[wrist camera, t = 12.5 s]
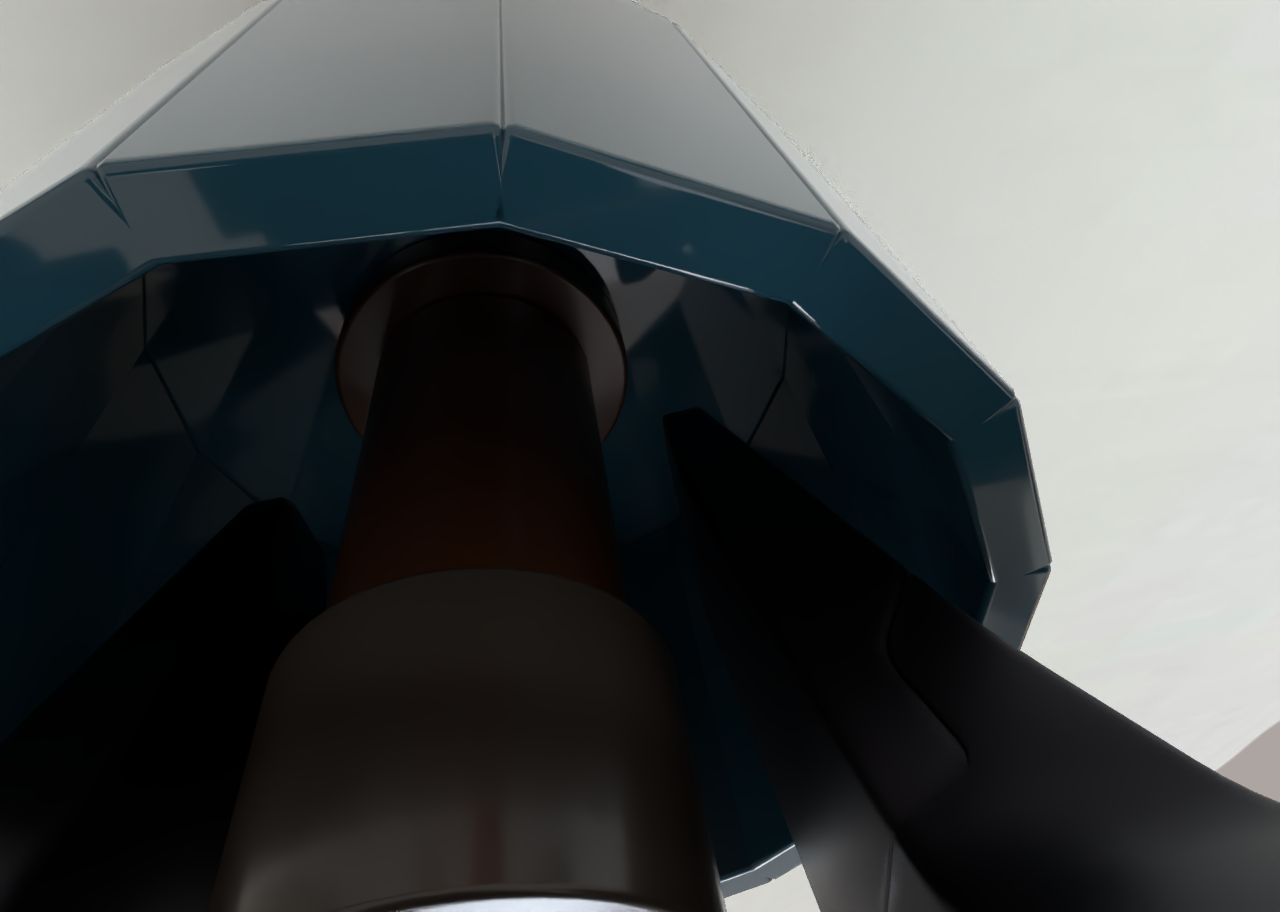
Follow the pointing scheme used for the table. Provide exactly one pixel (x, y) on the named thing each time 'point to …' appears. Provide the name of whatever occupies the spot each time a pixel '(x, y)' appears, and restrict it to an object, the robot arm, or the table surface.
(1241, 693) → the table surface
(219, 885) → the flanged grey cylinder
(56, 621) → the faceted blue grey bowl
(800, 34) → the table surface
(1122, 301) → the table surface
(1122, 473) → the table surface
